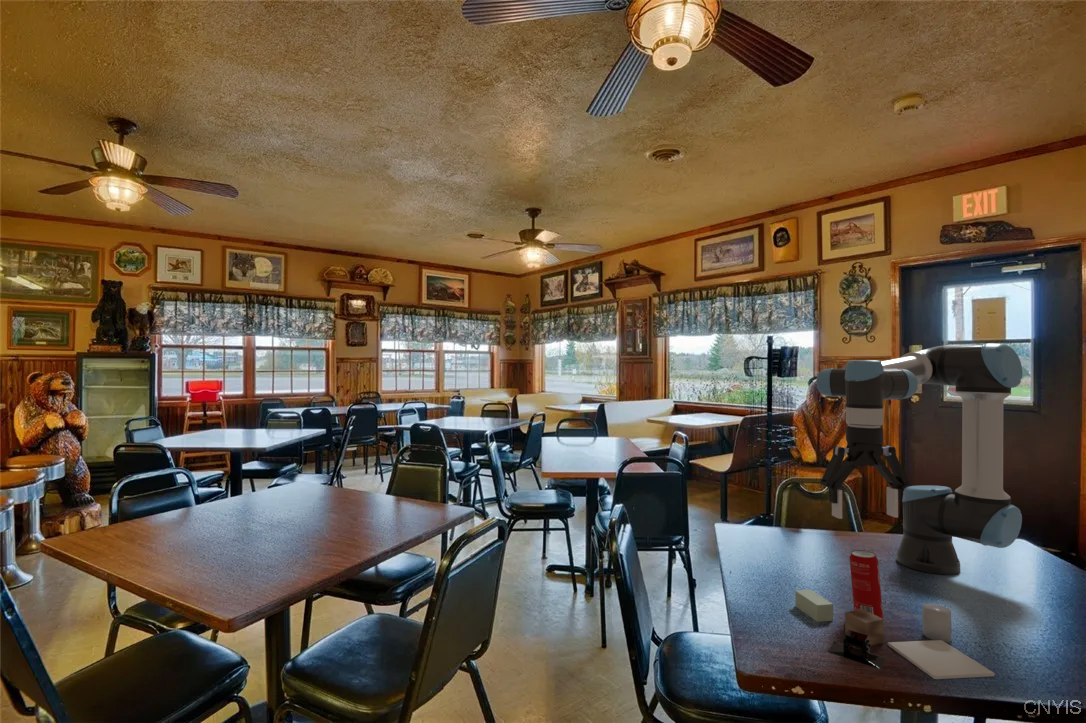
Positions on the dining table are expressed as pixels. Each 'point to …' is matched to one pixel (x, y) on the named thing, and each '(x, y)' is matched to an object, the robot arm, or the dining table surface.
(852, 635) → the black angular piece
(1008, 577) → the dining table surface
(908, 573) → the dining table surface
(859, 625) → the walnut block
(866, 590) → the beverage can
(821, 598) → the sage brick
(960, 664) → the tile
